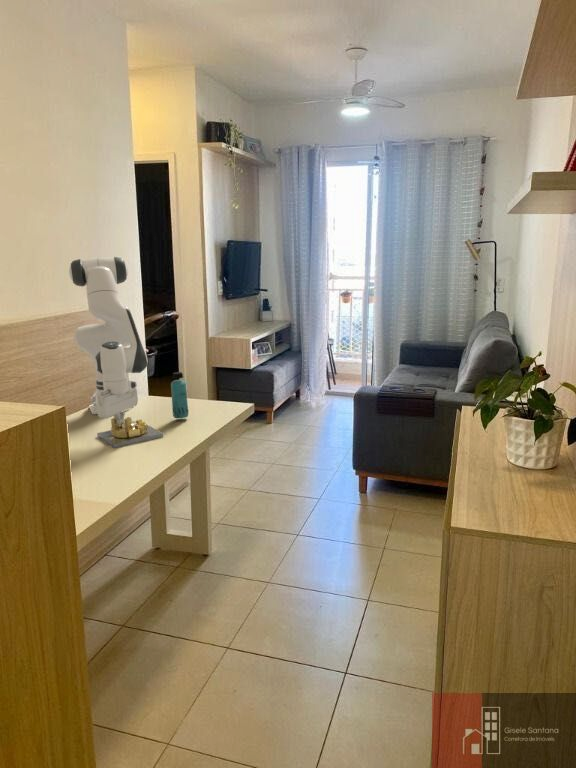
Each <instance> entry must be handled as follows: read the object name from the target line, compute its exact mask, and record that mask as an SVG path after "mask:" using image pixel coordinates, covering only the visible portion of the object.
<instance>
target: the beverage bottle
mask: <svg viewBox="0 0 576 768" xmlns="http://www.w3.org/2000/svg"><path fill="white" fill-rule="evenodd" d="M183 378H184V374H183V372H182V371H181V372H180V371H177V372H173V373H172V379H175V380H173V381H172V382H171V383H170V389H171V407H172V417H173V418H174V419H185V418H187V417H189V415H190V414H189V405H188V392H187V382H186V381H185V380H184V379H183Z"/></svg>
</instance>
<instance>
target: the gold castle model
mask: <svg viewBox="0 0 576 768" xmlns="http://www.w3.org/2000/svg"><path fill="white" fill-rule="evenodd" d="M131 423H132V428H135V425H136V423H133V422H131ZM122 429H125V424H122ZM96 436H97V437H96V438H98V439H100V440H101V441H103V442H104V443H105V444H107V445H108V446H110V448H113V449H118V448H120V447H126V446H131V445H134V444H139V443H143V442H144V443H145V442H148V441H151V440H152V441H153V440H157V439H161V438H164V433H163V432H161V431H160V430H158V429H157V428H154V427H153V426H150V425H148V424H147V432H145V433H144V434H142V435H139V436H134V437H127V438H121V437H114V436H113V435H112V434H111V429H109V430H105V431H100V432H97V433H96Z"/></svg>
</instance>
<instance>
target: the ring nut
mask: <svg viewBox="0 0 576 768" xmlns="http://www.w3.org/2000/svg"><path fill="white" fill-rule="evenodd" d="M131 422H133V423H136V425H135V428H132V423H131ZM110 424H111V428H110V430H111V434H112V435H113V436H114V437H121V438H127V437H134V436H139V435H142V434H144V433H145V432H147V425H148V424H147V423H146V422H145V421H143V420H142V419H137V420H135V421H134V420H133V421H132V417H126V418H125V419H124V423H122V424H125V429H122V424H117V423H116V419H115V418H114V417H112V418H111V419H110Z"/></svg>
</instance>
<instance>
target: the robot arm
mask: <svg viewBox="0 0 576 768" xmlns="http://www.w3.org/2000/svg"><path fill="white" fill-rule="evenodd" d="M128 268H129V267H128V266H127V263H126V262H125V260H124V259H123V258H122V257H117V256H114V257H109V256H108V257H106V256H105V257H104V256H102V257H101V256H97V257H90V258H84V259H80V258H78V259H74V260H72V262H71V263H70V266H69V269H68V273H69V277H70V279H71V281H72V283H73V284H74V285H75V286H76V287H77V286H78V287H86V299H87V305H88V306H87V307H88V310H89V314H91V315H92V316H93V317H95V318H96V319H99V320H101V321H103V322H104V323H96V324H95V323H94V324H85V325H82V326H79V327H77V328H76V329H75V331H74V334H73V340H74V343H75V345H76V346H77V347H78V349H81V350H82V351H83V352H85V353H86V354H87V355H88V356H89V358H91V360H92V361H93V365H94V368H95V375H96V382H95V386H96V387H95V388H96V390H95V392H94V393H93V395H92V396H91V397H90V402H91V403H92V404H89V406H88V408H89V410H90V412H91V414H92V415H97V416H98V417H99V418H100V419H108V418H111V417H113V418H115V419H116V423H117V424H122V423H124V418H125V415H126V412H127V411H129V410H130V409H132V408H134V407H136V406H137V405H138V403H139V402H138V401H139V397H138V390H137V385H138V383H137V381H133V380H129V377H128V374H140V373H142V372H143V371H144V370H146V368H147V367H148V355H147V353H146V351H145V349H144V347H143V344H142V341H141V338H140V335H139V332H138V329H137V327H136V323H135V320H134V318H133V315H132V313H131V311H130V309H129V307H128V306H125V305H124V303H122V302H121V299H120V298H119V294H118V287H117V285H119V284H122V283H124V282H125V281H126V280H127V278H128V273H129V269H128ZM128 346H129V347H128Z"/></svg>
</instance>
